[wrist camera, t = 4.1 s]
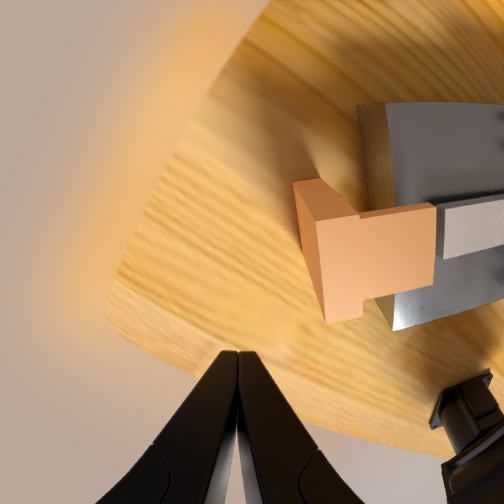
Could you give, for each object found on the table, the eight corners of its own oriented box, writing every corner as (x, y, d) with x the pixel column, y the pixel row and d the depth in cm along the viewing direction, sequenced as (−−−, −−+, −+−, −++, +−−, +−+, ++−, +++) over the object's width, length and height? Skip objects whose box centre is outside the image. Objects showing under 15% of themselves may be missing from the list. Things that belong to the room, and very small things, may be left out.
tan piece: (384, 240, 19) (437, 299, 12) (302, 254, 19) (325, 324, 13) (380, 169, 17) (443, 201, 11) (292, 182, 17) (315, 221, 11)
